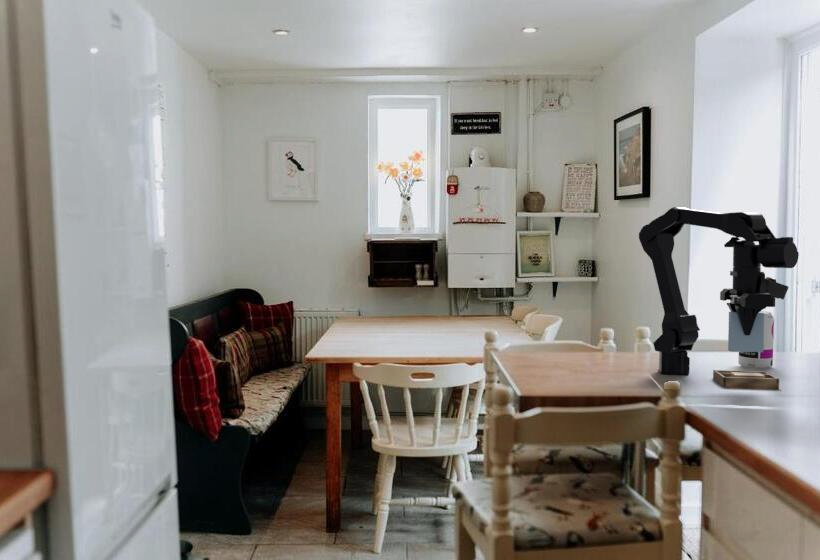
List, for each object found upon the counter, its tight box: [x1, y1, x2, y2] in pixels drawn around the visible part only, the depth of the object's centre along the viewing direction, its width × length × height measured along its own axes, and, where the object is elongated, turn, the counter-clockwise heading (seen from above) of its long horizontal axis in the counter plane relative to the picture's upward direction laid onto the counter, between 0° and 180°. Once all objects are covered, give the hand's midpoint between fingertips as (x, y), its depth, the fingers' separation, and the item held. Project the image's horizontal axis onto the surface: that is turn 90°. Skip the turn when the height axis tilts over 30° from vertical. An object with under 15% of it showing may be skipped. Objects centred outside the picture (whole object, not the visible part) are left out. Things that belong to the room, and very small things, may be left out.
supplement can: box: [738, 310, 775, 369], centre depth 183 cm, size 8×8×15 cm
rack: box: [711, 369, 782, 391], centre depth 160 cm, size 12×11×3 cm
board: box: [727, 311, 764, 353], centre depth 156 cm, size 7×2×9 cm, turn 82°
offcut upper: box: [730, 372, 765, 378], centre depth 158 cm, size 6×4×1 cm, turn 80°
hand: (745, 334), depth 156 cm, fingers closed on board, 2 cm apart
